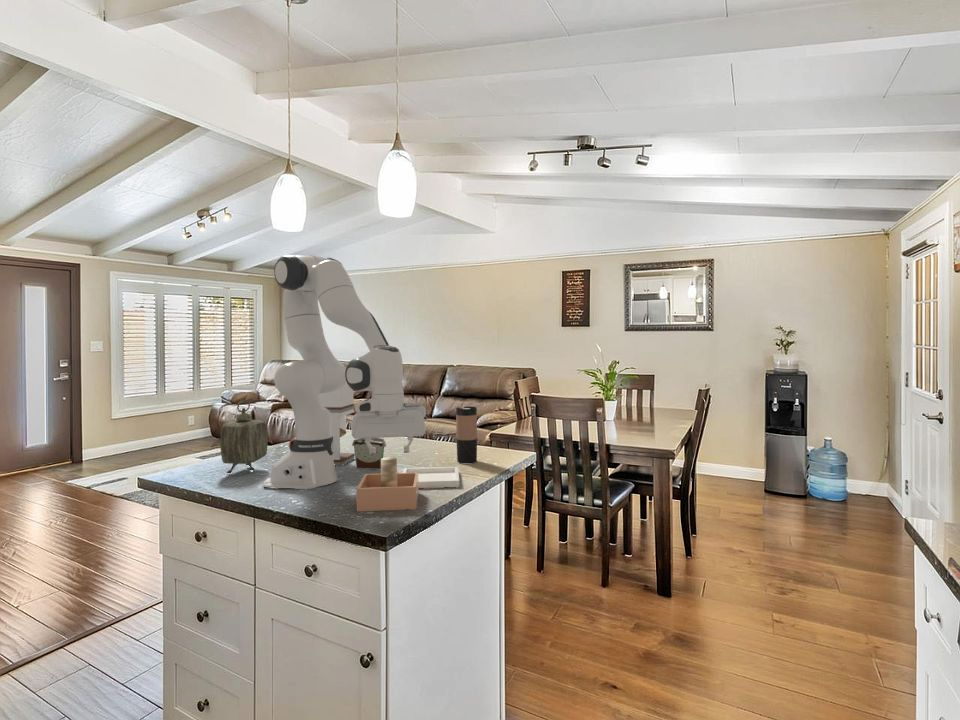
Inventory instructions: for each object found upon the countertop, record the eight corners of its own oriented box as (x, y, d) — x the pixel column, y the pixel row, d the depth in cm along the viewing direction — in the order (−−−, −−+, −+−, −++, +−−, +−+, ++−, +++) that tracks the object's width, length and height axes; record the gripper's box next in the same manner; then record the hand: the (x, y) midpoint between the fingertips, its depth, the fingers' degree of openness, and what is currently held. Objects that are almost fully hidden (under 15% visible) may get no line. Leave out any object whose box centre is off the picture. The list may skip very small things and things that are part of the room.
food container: (391, 465, 192) (391, 438, 192) (385, 469, 186) (384, 441, 186) (360, 464, 195) (359, 437, 195) (352, 468, 189) (352, 440, 189)
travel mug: (475, 464, 193) (474, 409, 192) (454, 463, 194) (453, 408, 194) (479, 459, 200) (478, 406, 200) (459, 459, 202) (458, 406, 201)
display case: (342, 465, 193) (340, 368, 192) (314, 464, 195) (312, 369, 194) (354, 458, 205) (352, 367, 203) (328, 457, 206) (326, 367, 205)
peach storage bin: (356, 511, 141) (356, 488, 141) (365, 494, 157) (364, 474, 157) (416, 509, 143) (415, 487, 142) (418, 492, 158) (418, 472, 158)
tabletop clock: (246, 466, 194) (244, 397, 193) (269, 467, 192) (267, 397, 191) (221, 476, 179) (219, 402, 178) (246, 477, 178) (243, 402, 177)
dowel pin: (380, 504, 147) (379, 460, 147) (382, 499, 152) (381, 457, 151) (396, 503, 148) (396, 460, 147) (398, 498, 152) (397, 457, 152)
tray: (400, 489, 162) (399, 482, 162) (404, 474, 180) (403, 468, 180) (459, 487, 163) (459, 480, 163) (457, 472, 181) (457, 466, 181)
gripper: (425, 401, 152) (427, 449, 153) (353, 403, 151) (354, 452, 151) (425, 403, 146) (426, 453, 147) (349, 406, 145) (351, 457, 145)
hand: (389, 453), depth 149 cm, fingers open, 8 cm apart
